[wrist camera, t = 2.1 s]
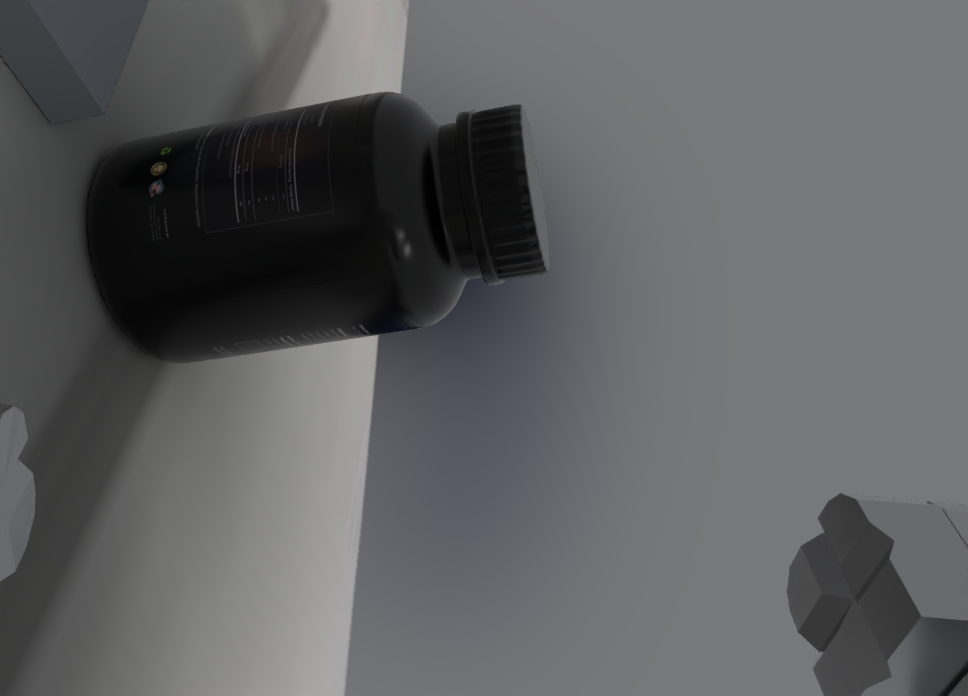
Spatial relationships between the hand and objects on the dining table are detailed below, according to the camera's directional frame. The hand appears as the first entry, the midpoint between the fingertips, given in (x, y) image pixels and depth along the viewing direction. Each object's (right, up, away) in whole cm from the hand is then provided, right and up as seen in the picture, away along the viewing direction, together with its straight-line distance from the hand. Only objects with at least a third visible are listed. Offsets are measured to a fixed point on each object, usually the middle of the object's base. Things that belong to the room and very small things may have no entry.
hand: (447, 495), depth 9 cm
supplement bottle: (-10, +4, +18) cm, 21 cm away
